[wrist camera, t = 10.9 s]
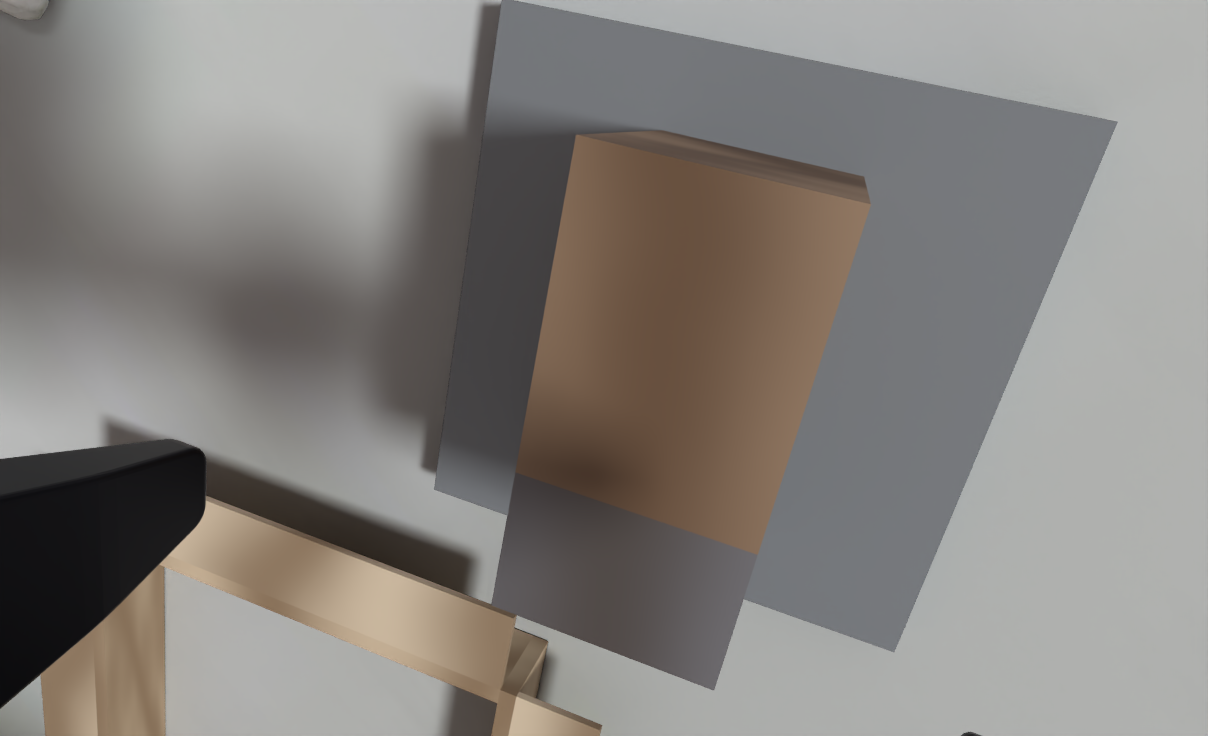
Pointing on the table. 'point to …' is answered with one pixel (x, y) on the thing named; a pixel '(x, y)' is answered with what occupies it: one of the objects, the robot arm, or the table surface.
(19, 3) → the square plate
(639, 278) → the block
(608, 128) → the mat
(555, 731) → the wooden square frame
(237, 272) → the table surface
